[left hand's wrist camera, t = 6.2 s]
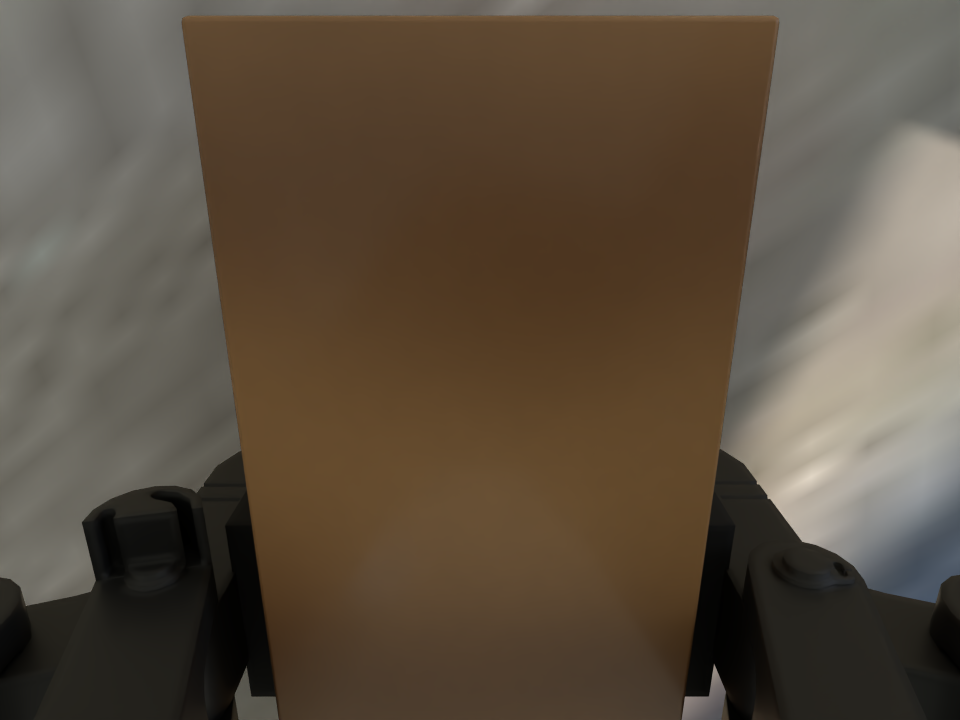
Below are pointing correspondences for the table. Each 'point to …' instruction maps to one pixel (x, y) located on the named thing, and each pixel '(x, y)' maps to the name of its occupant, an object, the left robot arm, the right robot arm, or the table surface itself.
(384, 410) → the beam
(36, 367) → the table surface
